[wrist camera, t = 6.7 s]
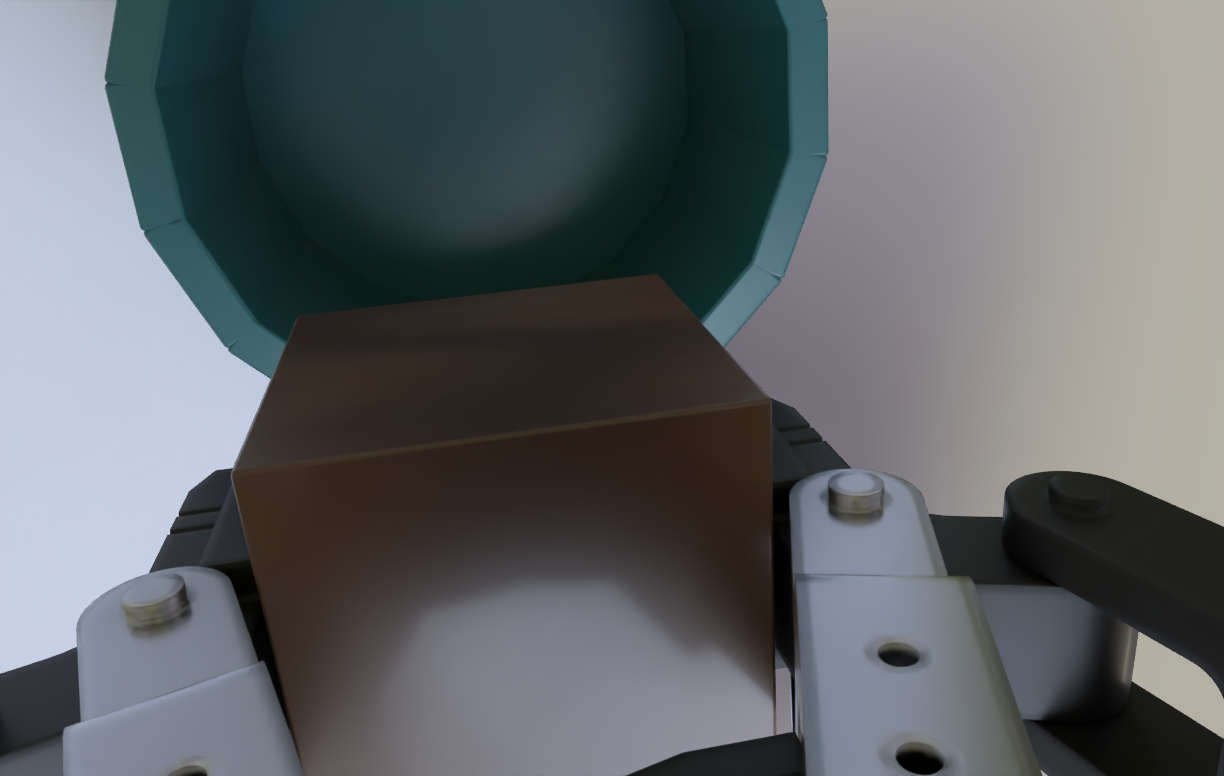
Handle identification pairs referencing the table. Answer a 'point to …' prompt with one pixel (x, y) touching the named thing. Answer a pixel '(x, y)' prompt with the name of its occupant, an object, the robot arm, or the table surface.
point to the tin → (466, 150)
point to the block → (513, 535)
